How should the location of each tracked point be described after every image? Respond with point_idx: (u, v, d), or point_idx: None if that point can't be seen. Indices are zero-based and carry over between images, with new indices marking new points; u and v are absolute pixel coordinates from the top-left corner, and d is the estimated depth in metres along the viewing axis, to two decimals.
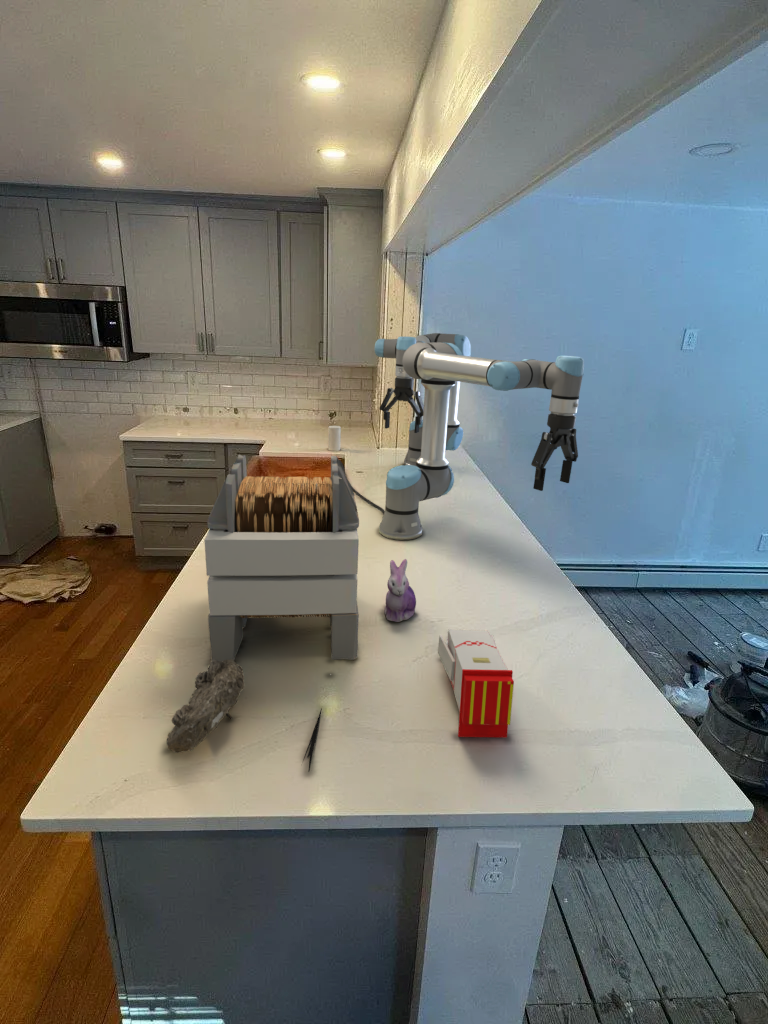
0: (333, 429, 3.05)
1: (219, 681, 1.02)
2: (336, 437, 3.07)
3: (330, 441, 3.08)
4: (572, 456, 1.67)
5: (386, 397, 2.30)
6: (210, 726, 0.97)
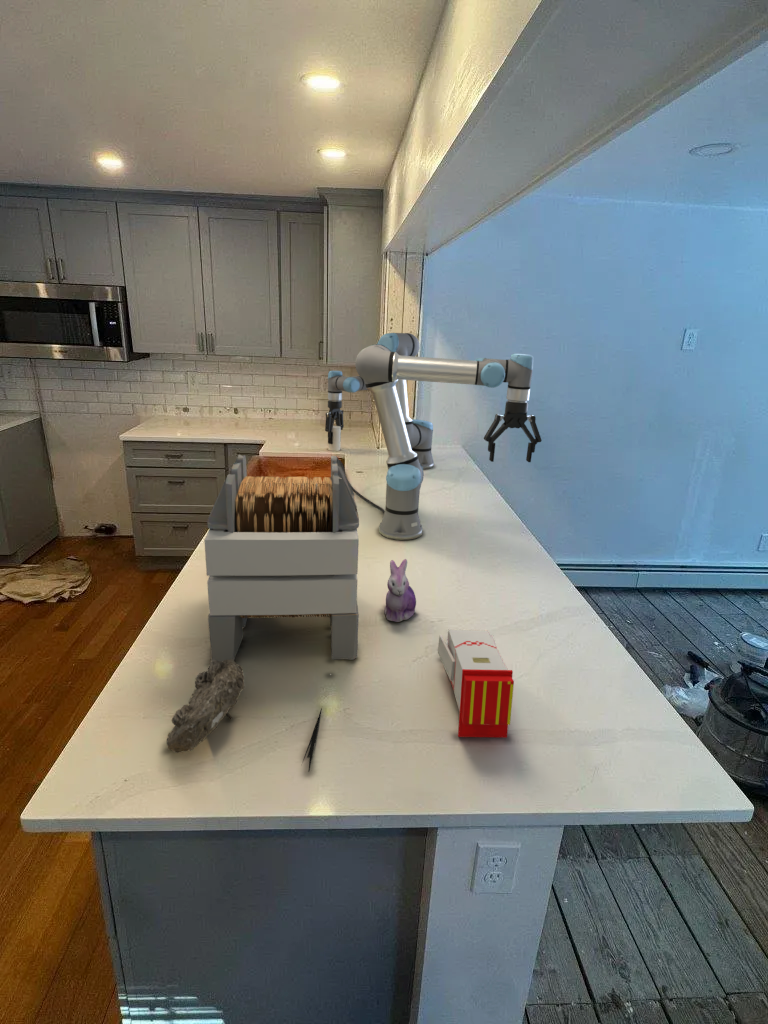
0: (333, 429, 3.05)
1: (219, 681, 1.02)
2: (336, 437, 3.07)
3: None
4: None
5: None
6: (210, 726, 0.97)
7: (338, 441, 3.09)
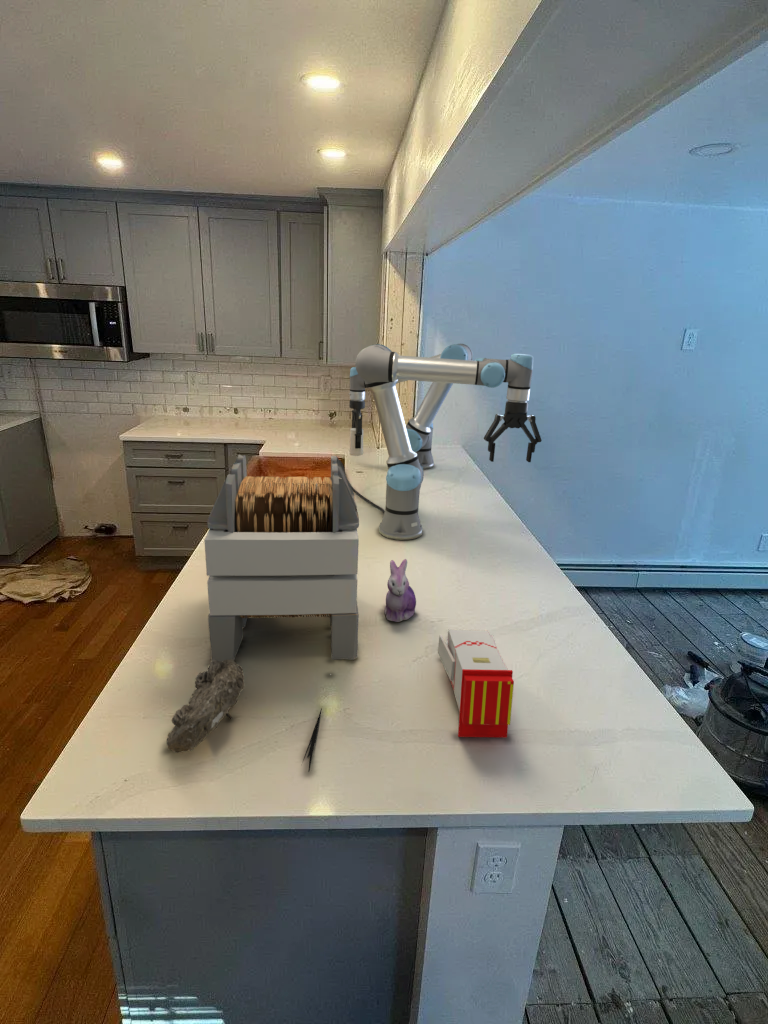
0: None
1: (219, 681, 1.02)
2: (362, 439, 2.80)
3: None
4: None
5: (352, 418, 2.83)
6: (210, 726, 0.97)
7: (362, 444, 2.82)
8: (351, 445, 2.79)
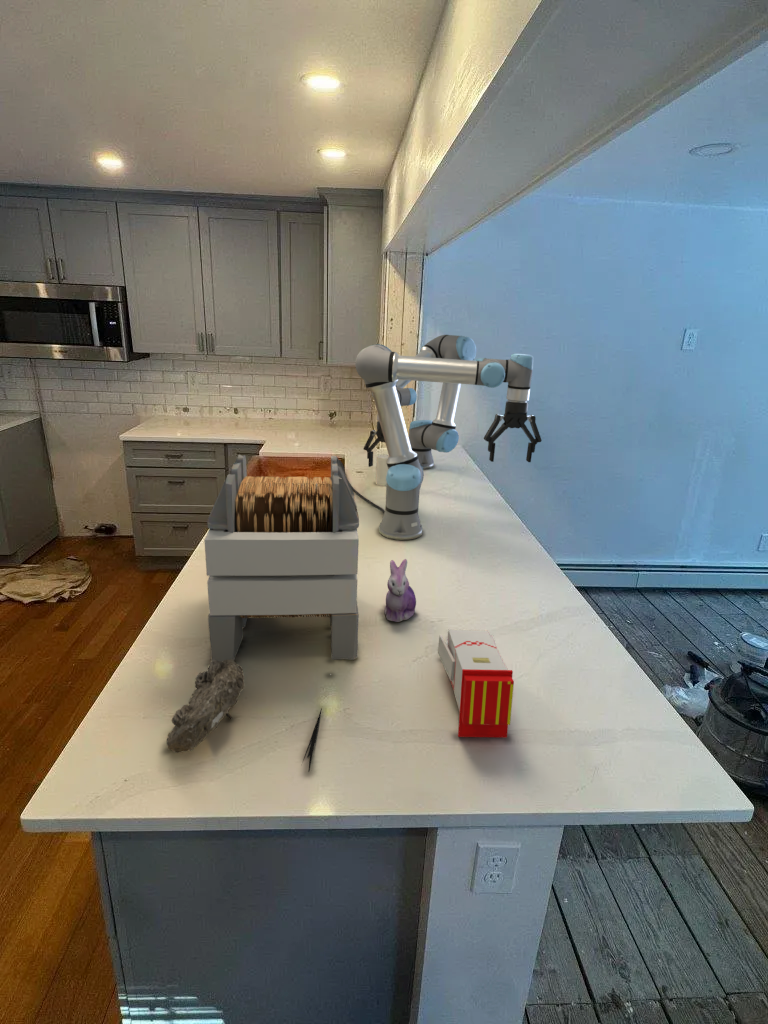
0: None
1: (219, 681, 1.02)
2: None
3: None
4: None
5: (369, 438, 2.51)
6: (210, 726, 0.97)
7: None
8: (383, 475, 2.51)
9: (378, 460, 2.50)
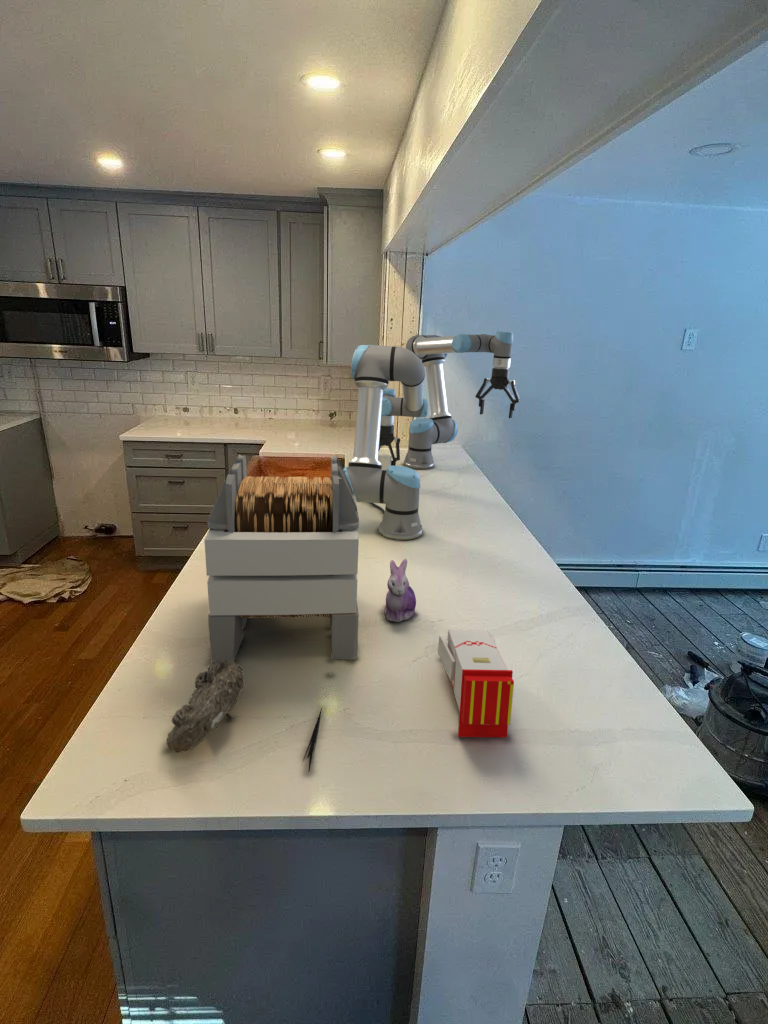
0: (391, 458, 2.52)
1: (219, 681, 1.02)
2: None
3: None
4: None
5: (482, 386, 2.55)
6: (210, 726, 0.97)
7: None
8: None
9: None
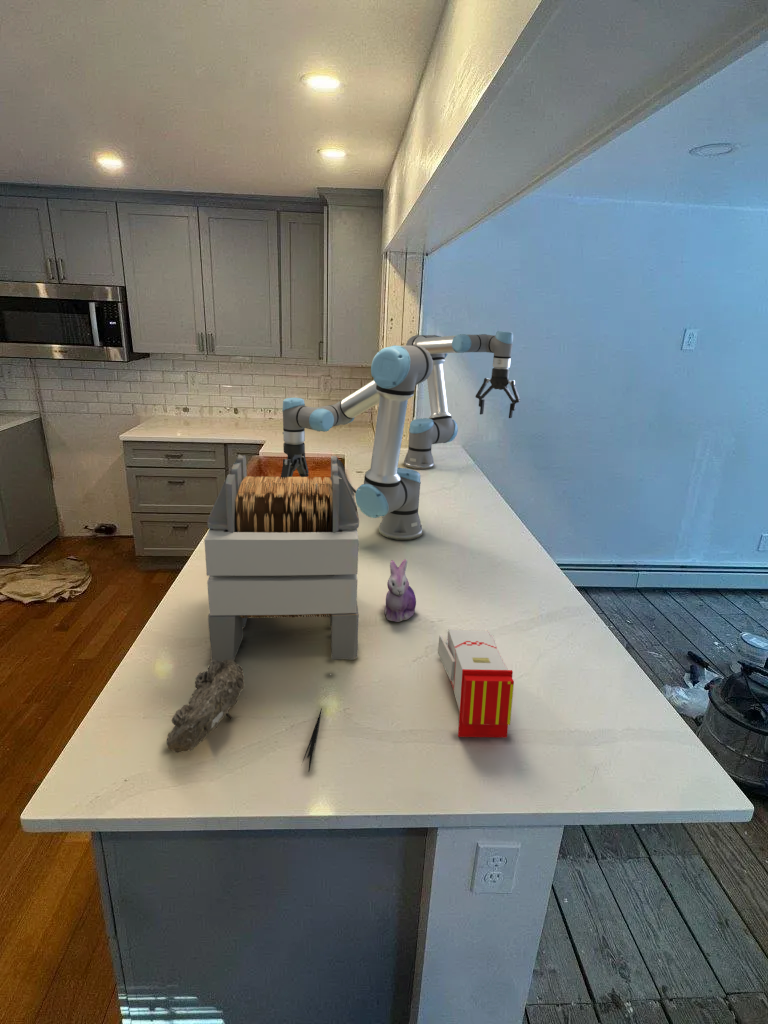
0: None
1: (219, 681, 1.02)
2: None
3: None
4: None
5: (482, 386, 2.55)
6: (210, 726, 0.97)
7: None
8: None
9: None
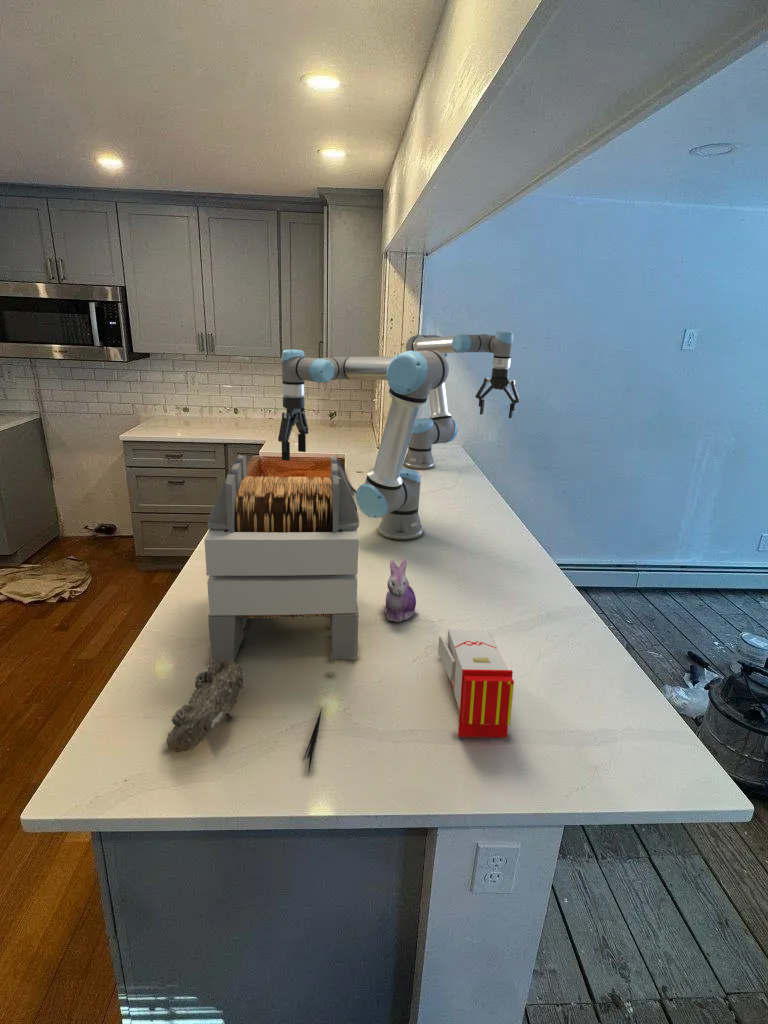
0: None
1: (219, 681, 1.02)
2: None
3: None
4: None
5: (482, 386, 2.55)
6: (210, 726, 0.97)
7: None
8: None
9: None
